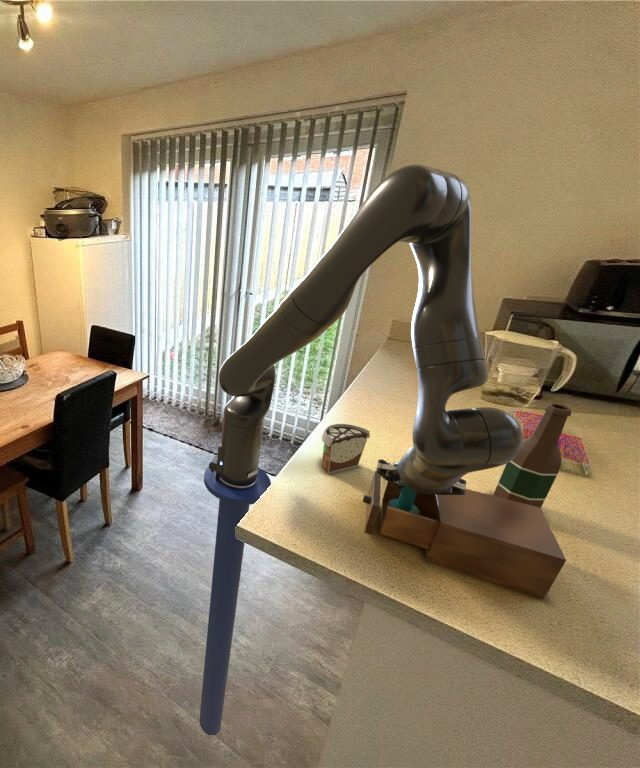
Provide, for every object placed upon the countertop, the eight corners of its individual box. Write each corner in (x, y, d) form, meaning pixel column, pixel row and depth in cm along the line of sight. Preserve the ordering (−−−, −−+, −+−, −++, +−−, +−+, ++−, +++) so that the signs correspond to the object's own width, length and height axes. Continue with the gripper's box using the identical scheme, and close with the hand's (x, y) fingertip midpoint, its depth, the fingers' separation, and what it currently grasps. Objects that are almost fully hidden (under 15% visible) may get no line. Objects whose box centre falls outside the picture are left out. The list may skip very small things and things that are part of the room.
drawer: (357, 530, 78) (365, 502, 75) (361, 494, 87) (368, 469, 85) (457, 563, 70) (470, 534, 67) (449, 520, 80) (460, 493, 77)
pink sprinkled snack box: (502, 414, 122) (508, 399, 120) (572, 429, 113) (580, 413, 111) (503, 456, 101) (510, 439, 99) (588, 479, 92) (598, 461, 90)
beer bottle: (547, 512, 82) (599, 411, 73) (524, 522, 80) (574, 419, 70) (504, 490, 89) (546, 395, 80) (481, 498, 87) (522, 401, 77)
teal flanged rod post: (384, 522, 78) (400, 472, 73) (385, 507, 82) (399, 459, 77) (416, 532, 75) (434, 481, 71) (415, 515, 79) (432, 466, 75)
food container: (343, 452, 104) (351, 419, 101) (362, 465, 99) (371, 430, 95) (305, 461, 101) (311, 427, 97) (323, 474, 96) (330, 439, 92)
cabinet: (426, 559, 72) (440, 522, 68) (422, 514, 83) (434, 480, 79) (544, 599, 64) (566, 560, 61) (522, 543, 75) (540, 507, 71)
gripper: (489, 456, 61) (454, 478, 75) (384, 433, 68) (371, 458, 82) (483, 503, 59) (449, 517, 73) (376, 475, 66) (364, 492, 80)
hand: (408, 485), depth 78 cm, fingers closed on teal flanged rod post, 2 cm apart
